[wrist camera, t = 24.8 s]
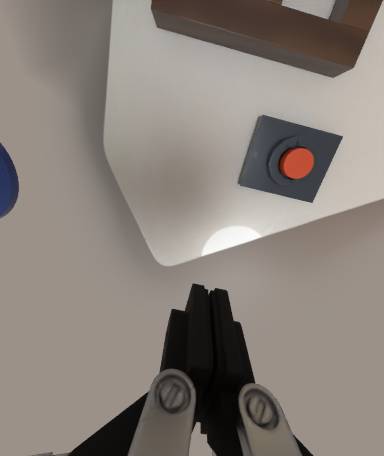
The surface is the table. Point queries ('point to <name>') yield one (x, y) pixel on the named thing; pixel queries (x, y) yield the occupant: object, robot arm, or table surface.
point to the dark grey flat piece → (273, 151)
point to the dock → (275, 29)
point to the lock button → (296, 163)
